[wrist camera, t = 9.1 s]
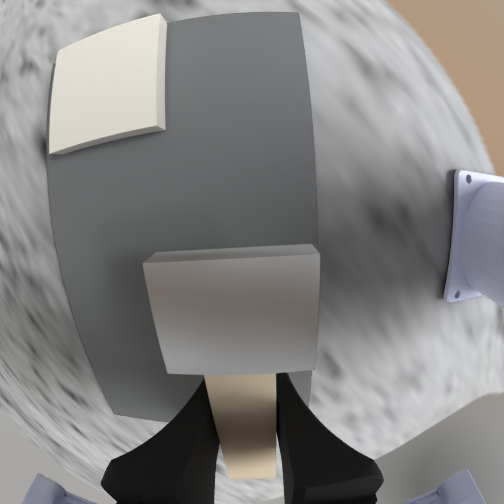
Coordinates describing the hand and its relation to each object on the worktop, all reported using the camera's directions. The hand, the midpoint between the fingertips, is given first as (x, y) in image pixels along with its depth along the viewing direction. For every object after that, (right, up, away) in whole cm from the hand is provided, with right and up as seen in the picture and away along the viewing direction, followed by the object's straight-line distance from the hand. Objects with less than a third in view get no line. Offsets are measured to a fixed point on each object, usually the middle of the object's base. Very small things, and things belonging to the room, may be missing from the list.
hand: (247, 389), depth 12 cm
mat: (-4, +6, +1) cm, 8 cm away
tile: (-7, +11, -1) cm, 13 cm away
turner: (0, +2, +2) cm, 3 cm away
